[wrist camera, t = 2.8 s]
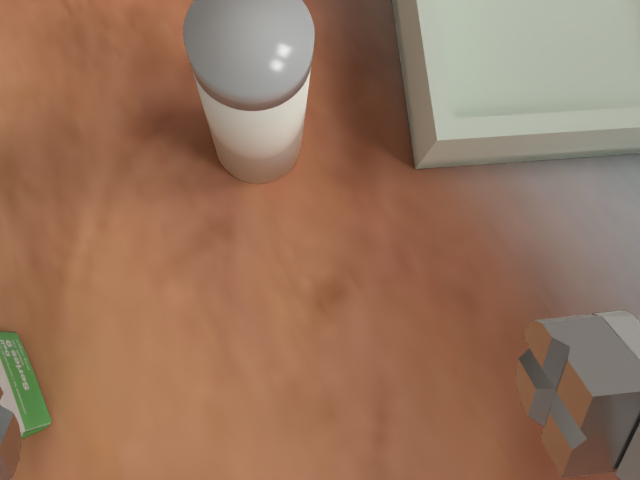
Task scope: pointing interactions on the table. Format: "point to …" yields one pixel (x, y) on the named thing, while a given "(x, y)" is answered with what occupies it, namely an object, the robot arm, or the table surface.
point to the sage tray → (519, 79)
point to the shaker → (252, 80)
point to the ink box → (21, 386)
